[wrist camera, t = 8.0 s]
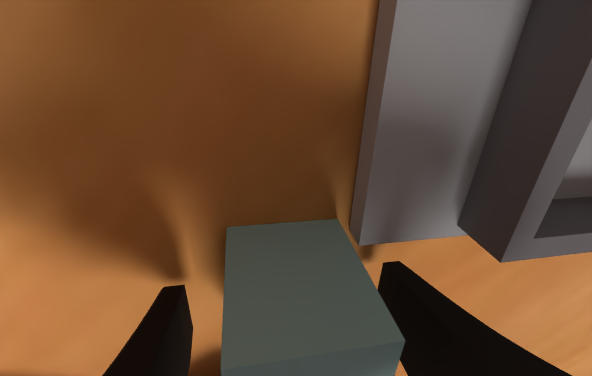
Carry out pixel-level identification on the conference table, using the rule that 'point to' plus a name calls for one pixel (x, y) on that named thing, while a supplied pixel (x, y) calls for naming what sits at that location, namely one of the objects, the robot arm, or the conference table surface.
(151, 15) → the conference table surface
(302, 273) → the teal block
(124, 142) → the conference table surface
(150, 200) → the conference table surface
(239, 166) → the conference table surface
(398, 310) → the robot arm
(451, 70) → the jig
